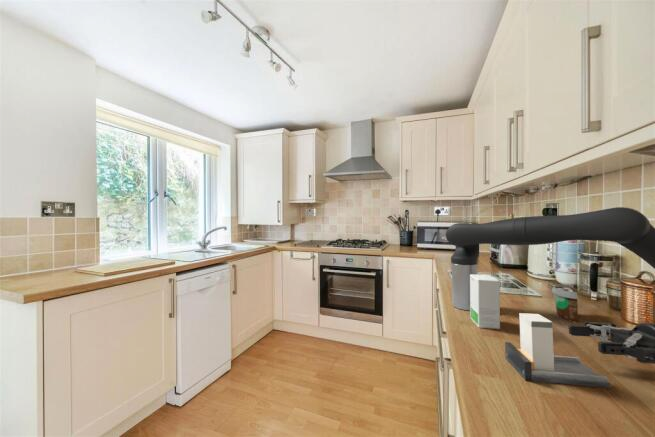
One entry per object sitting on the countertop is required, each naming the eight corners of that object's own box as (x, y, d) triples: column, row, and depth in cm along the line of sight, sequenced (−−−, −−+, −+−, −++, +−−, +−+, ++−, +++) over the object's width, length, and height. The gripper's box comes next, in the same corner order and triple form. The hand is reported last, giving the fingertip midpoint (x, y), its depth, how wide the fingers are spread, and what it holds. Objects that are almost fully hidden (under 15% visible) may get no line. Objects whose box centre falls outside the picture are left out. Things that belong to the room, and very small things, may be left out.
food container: (551, 309, 96) (550, 282, 96) (574, 312, 92) (573, 285, 93) (553, 319, 87) (552, 290, 87) (578, 323, 83) (577, 292, 83)
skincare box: (470, 318, 90) (468, 274, 90) (490, 319, 88) (489, 274, 89) (479, 328, 81) (477, 279, 82) (502, 329, 80) (500, 279, 80)
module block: (521, 359, 61) (519, 313, 61) (540, 360, 60) (538, 313, 60) (533, 371, 56) (531, 321, 56) (554, 373, 55) (552, 322, 56)
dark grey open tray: (505, 358, 64) (505, 342, 64) (576, 363, 60) (576, 346, 60) (525, 380, 55) (524, 361, 55) (610, 388, 52) (609, 368, 52)
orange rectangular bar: (515, 356, 62) (514, 348, 62) (519, 357, 62) (519, 348, 62) (529, 371, 56) (528, 361, 56) (534, 371, 56) (534, 362, 56)
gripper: (641, 313, 60) (560, 310, 63) (719, 340, 46) (610, 335, 49) (643, 345, 60) (562, 340, 63) (722, 382, 46) (612, 374, 49)
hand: (583, 338), depth 56 cm, fingers open, 8 cm apart
